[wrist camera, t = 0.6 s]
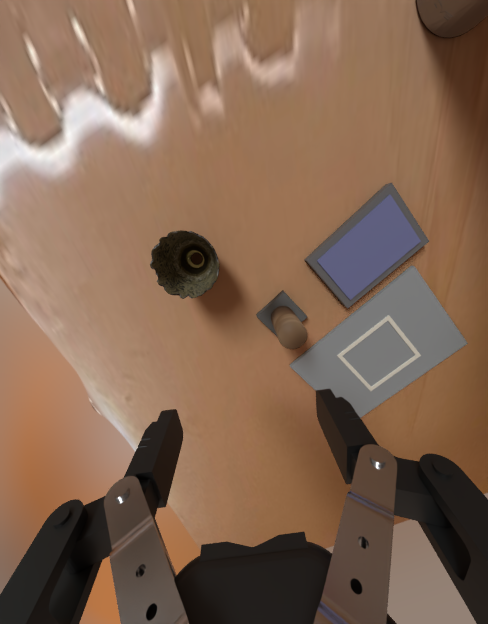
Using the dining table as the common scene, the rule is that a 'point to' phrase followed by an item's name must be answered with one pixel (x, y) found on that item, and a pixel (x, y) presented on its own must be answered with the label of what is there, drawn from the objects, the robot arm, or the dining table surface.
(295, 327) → the stamp
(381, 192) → the ink pad
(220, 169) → the dining table surface
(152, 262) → the cup
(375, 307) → the board
